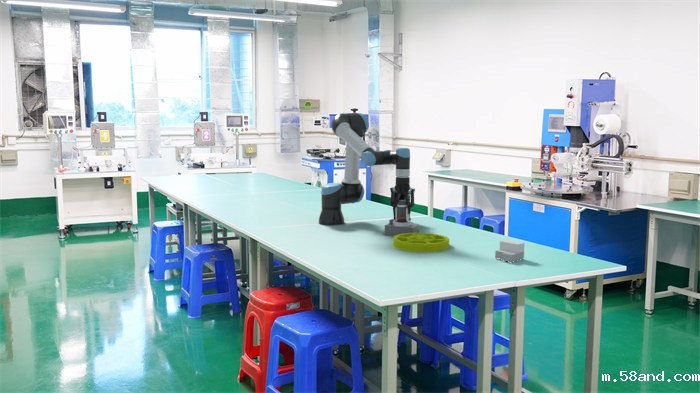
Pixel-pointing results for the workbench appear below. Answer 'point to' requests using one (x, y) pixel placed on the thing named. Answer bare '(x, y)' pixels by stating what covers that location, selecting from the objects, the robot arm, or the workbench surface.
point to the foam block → (510, 250)
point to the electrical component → (401, 199)
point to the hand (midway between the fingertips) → (402, 219)
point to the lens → (401, 211)
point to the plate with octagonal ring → (400, 227)
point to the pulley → (421, 242)
